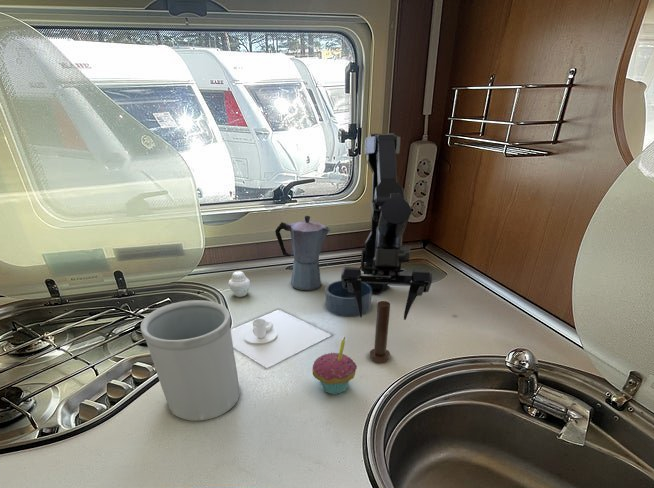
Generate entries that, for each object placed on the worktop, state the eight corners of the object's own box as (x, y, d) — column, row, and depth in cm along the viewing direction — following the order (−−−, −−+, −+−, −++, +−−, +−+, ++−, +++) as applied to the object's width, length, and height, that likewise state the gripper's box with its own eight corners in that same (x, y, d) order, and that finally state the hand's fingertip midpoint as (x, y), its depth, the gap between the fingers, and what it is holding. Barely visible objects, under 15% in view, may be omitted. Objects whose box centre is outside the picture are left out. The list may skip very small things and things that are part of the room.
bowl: (316, 306, 114) (316, 289, 111) (346, 293, 121) (346, 276, 118) (350, 321, 107) (351, 303, 104) (380, 305, 114) (381, 288, 111)
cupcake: (360, 379, 87) (362, 327, 80) (348, 404, 80) (350, 350, 73) (320, 372, 89) (319, 321, 82) (306, 395, 83) (304, 342, 76)
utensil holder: (217, 431, 74) (198, 346, 64) (148, 414, 79) (120, 331, 68) (255, 385, 86) (245, 306, 75) (193, 371, 90) (175, 295, 80)
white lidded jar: (255, 292, 122) (253, 269, 118) (242, 300, 118) (239, 276, 114) (239, 288, 125) (236, 265, 121) (225, 296, 121) (221, 272, 117)
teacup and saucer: (265, 324, 106) (264, 309, 104) (286, 335, 102) (285, 320, 99) (237, 337, 102) (235, 321, 99) (257, 349, 97) (255, 333, 95)
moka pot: (330, 291, 122) (330, 220, 110) (277, 292, 123) (271, 221, 111) (330, 278, 130) (330, 210, 118) (280, 279, 130) (275, 211, 118)
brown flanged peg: (365, 357, 93) (368, 304, 86) (377, 350, 96) (381, 297, 88) (381, 365, 91) (386, 310, 83) (393, 357, 93) (399, 303, 86)
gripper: (342, 228, 85) (335, 302, 82) (438, 230, 82) (433, 307, 80) (346, 254, 96) (339, 320, 93) (430, 257, 93) (426, 325, 91)
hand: (382, 318), depth 89 cm, fingers open, 9 cm apart
